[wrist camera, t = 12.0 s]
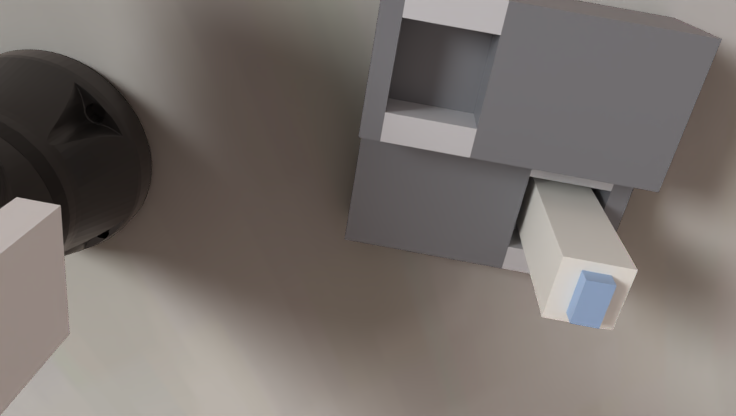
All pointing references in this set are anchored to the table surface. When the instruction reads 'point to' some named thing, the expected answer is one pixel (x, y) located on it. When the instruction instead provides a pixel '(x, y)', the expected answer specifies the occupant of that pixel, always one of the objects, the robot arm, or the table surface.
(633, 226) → the table surface
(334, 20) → the table surface
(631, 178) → the grey socket holder
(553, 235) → the cream long block
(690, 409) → the table surface
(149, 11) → the table surface
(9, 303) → the robot arm
